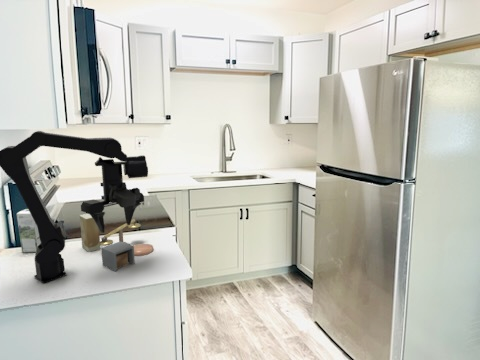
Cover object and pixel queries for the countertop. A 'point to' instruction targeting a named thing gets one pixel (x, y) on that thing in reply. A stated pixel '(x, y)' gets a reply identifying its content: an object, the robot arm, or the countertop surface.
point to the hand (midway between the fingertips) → (116, 228)
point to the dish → (142, 249)
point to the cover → (113, 249)
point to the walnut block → (121, 259)
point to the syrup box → (28, 232)
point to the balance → (108, 242)
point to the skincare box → (89, 233)
